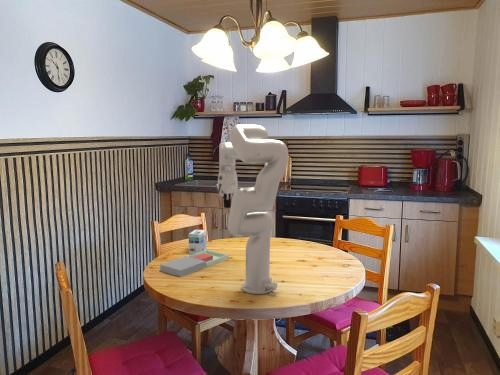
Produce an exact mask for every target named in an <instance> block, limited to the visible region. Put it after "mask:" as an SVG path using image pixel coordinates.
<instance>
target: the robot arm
mask: <svg viewBox="0 0 500 375" xmlns="http://www.w3.org/2000/svg"><path fill="white" fill-rule="evenodd" d="M218 148H219V150H218V152H219V154H218V156H219V166H218V167H219V170H218V171H219V172H218V177H217V193H218V196H219V197H222V199H223V208H225V209H229V215H228V221H227V228H228V233H229V234H230V235H231V236H233V237H248V236H249V238H248V239H247V240H246V245H245V282H243V283H242V284H241V290H242V291H243V292H244V293H247V294H252V295H264V294H268V293H271V292H272V291H277V288H278V282H273V278H272V277H271V276H270V275H271V272H270V271H271V270H270V268H271V266H270V264H271V263H270V262H271V260H270V259H271V258H270V257H271V238H272V230H273V225H274V218H273V216H272V214H271V213H270V212H269V211H271V210H272V209H273V207H274V206H275V201H276V198H277V193H278V189H279V185H280V181H281V179H282V177H283V175H284V174H285V171H286V169H287V166H288V162H289V149H288V147H287V145H286V144H285V142H284V141H281V140H278V139H269V132H268V130H267V129H266V128H265V127H264V126H262V125H260V124H259V125H258V124H242V123H241V124H240V123H239V124H236V125H234V126H232V128H231V129H230V132H229V141H224V142H220V143H219V147H218ZM236 159H237V160H240V161H242V162H243V163H245V164H265V163H266V165H265V166H264V167H263V168H262V169H260V171H259V172H258V174H257V176H256V180H255V184H254V186H252V187H251V186H249V187H240V188H239V185H238V184H239V182H238V181H239V180H238V175H237V172H236Z"/></svg>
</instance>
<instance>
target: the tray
mask: <svg viewBox="0 0 500 375" xmlns="http://www.w3.org/2000/svg"><path fill="white" fill-rule="evenodd" d="M203 253H204V254H209V255H213V260H211V261H208V262H206V268H209V267H212V266H214V265H216V264H218V263H219V264H220V263H221V262H224V261H228V260H229V258H230V256H229V254H228V253H223V252H218V251H214V250H209V249H207V250H204V251H201V252H198V253H195V254H190V255H186V256H187V257H191V258H192V257H195V256H197V255H200V254H203Z"/></svg>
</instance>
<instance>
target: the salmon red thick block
mask: <svg viewBox="0 0 500 375" xmlns="http://www.w3.org/2000/svg"><path fill="white" fill-rule="evenodd" d="M192 258H195V259H199V260H203V261H206V262H208V261H211V260H213V255H209V254H204V253H203V254H200V255H197V256H195V257H192Z"/></svg>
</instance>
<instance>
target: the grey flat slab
mask: <svg viewBox="0 0 500 375" xmlns="http://www.w3.org/2000/svg"><path fill="white" fill-rule="evenodd" d="M187 256H188V255H185V256H183V257H179V258H175V259H173V260H170V261H167V262H164V263H161V264H160V265H159V267H160V268H159V269H160V270H159V271H160V272H163V273H166V274H169V275H173V276H176V277H179V278H181V277H184V276H187V275H189V274H193V273H196V272H198V271H200V270H203V269H205V268H207V267H206V261H203V260H199V259H195V258H191V257H187Z"/></svg>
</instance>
